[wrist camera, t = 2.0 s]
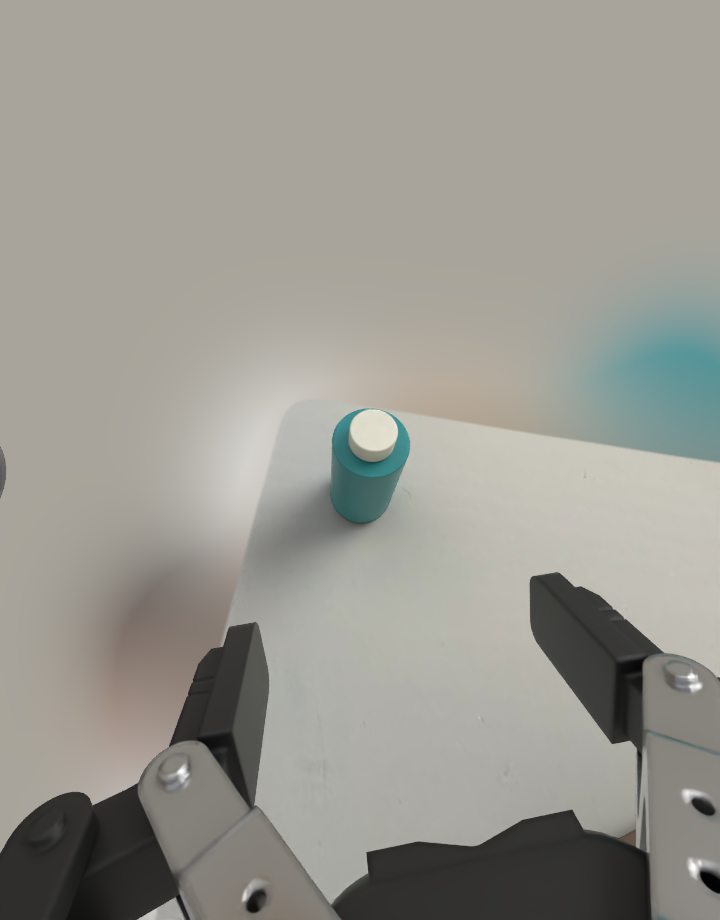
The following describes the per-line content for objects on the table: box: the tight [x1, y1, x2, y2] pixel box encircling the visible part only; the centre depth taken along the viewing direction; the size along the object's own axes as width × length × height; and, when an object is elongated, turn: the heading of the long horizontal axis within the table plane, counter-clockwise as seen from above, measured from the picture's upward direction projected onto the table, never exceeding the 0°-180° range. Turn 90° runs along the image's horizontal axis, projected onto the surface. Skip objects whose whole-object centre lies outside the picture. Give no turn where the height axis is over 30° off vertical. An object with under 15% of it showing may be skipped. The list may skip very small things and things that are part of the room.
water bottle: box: [331, 409, 410, 523], centre depth 27 cm, size 4×4×10 cm
